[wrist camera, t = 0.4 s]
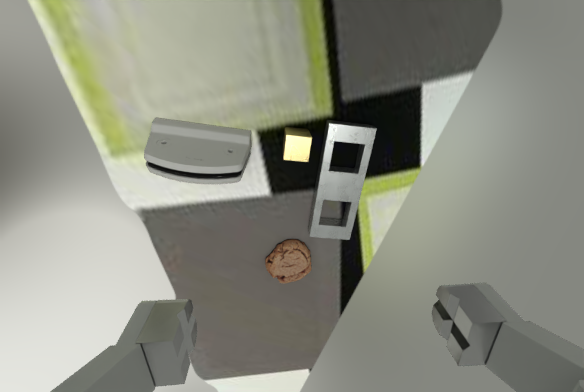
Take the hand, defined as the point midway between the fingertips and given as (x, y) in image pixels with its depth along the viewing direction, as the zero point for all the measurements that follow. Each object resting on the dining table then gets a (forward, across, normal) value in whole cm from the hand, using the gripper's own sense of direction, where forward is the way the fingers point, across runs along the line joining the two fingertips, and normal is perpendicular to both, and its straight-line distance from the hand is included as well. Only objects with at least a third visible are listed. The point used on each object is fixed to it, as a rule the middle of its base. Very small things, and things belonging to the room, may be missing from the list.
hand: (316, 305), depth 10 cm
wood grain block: (+44, -2, +6) cm, 45 cm away
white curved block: (+45, +14, +6) cm, 47 cm away
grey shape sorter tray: (+44, -10, +14) cm, 47 cm away
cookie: (+45, 0, +32) cm, 55 cm away
